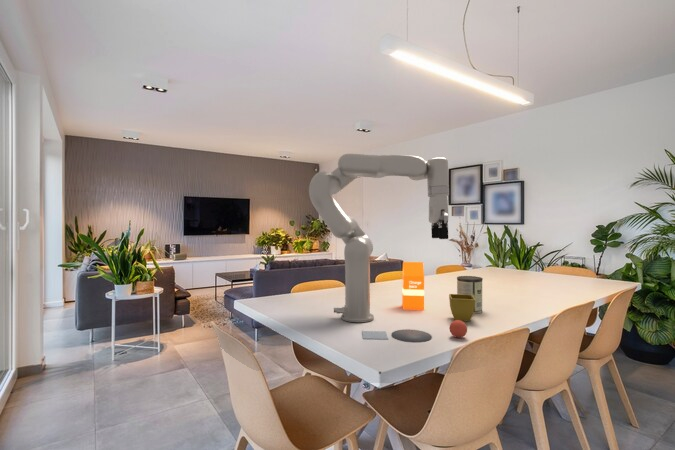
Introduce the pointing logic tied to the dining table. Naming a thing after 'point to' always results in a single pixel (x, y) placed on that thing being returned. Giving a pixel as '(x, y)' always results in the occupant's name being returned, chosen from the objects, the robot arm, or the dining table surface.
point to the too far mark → (374, 335)
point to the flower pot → (462, 306)
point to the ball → (458, 328)
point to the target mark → (411, 335)
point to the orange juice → (413, 285)
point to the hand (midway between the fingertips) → (439, 238)
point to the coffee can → (471, 289)
